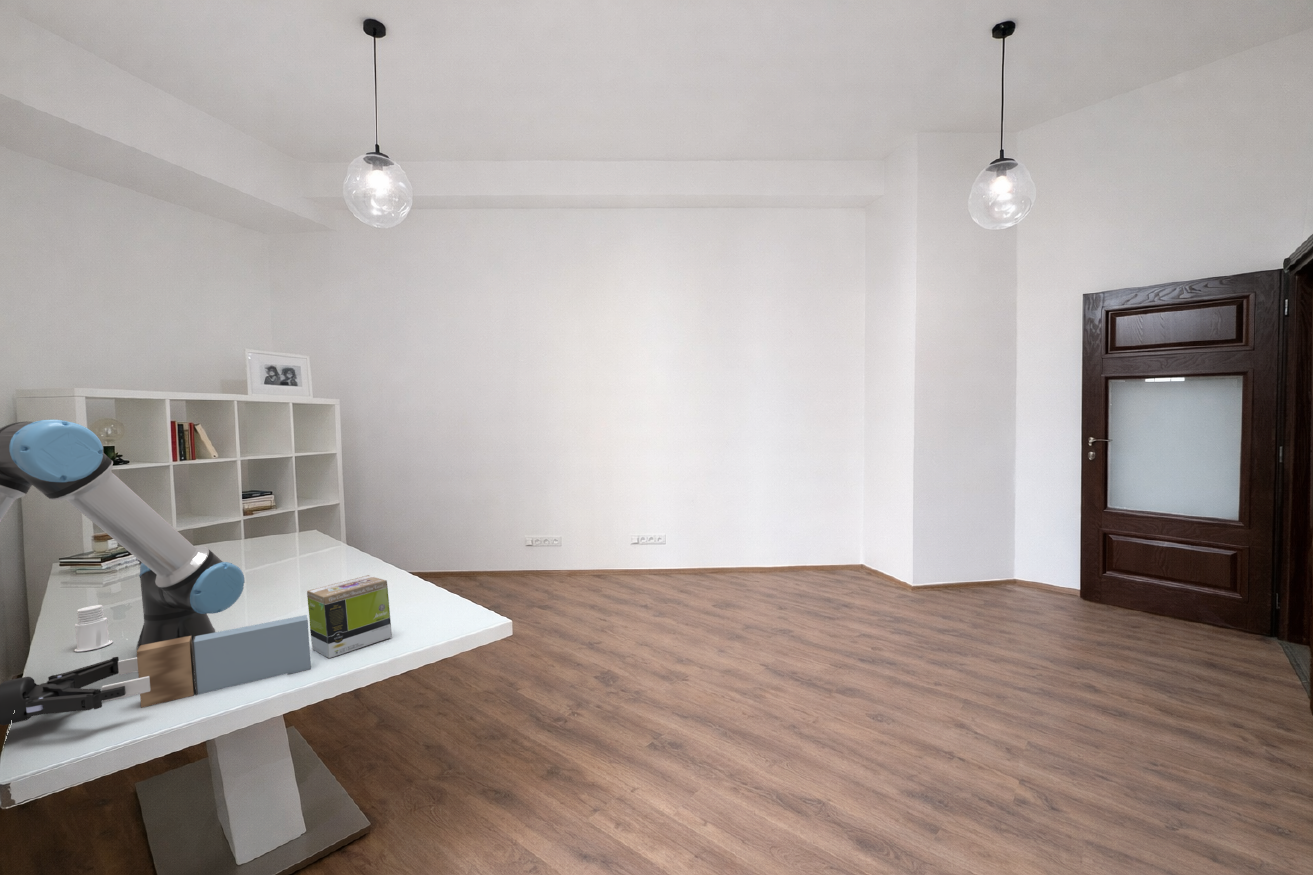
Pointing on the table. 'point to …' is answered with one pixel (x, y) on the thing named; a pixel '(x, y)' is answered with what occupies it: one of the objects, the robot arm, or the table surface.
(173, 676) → the stub
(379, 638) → the tea box
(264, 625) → the blue-gray rectangular block
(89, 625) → the downlight
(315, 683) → the table surface
